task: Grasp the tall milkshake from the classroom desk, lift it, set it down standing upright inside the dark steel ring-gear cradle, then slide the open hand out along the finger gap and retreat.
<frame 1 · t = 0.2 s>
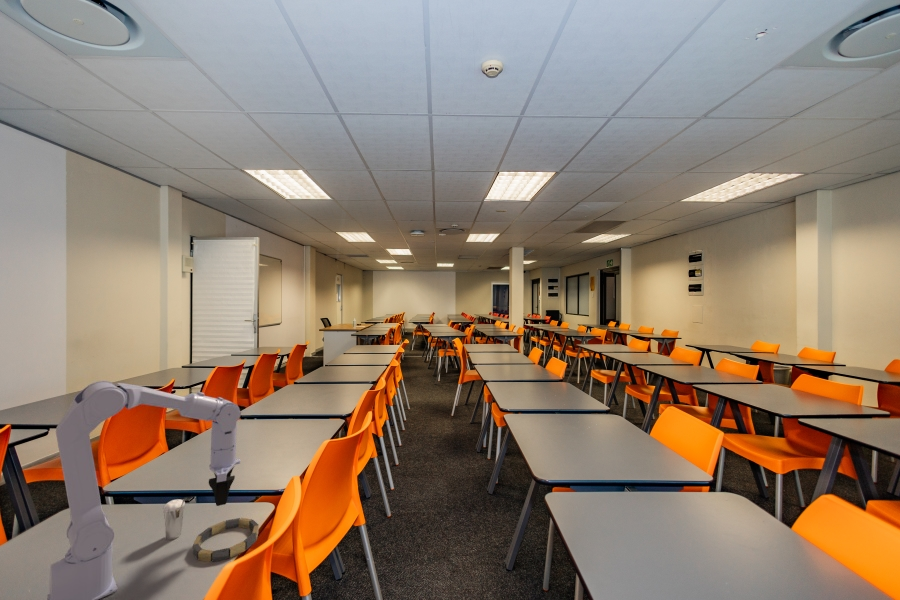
hand: (222, 497, 96), 10 cm above the table, fingers open, 7 cm apart
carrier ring: (227, 542, 93), on the table
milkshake: (174, 537, 95), on the table
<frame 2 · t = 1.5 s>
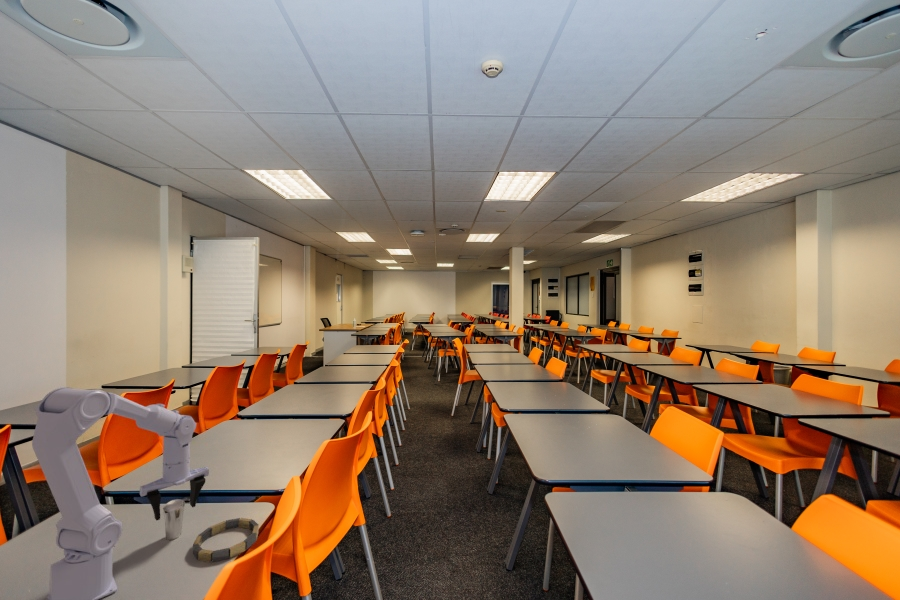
hand: (175, 511, 95), 6 cm above the table, fingers open, 7 cm apart
nothing on the table moved.
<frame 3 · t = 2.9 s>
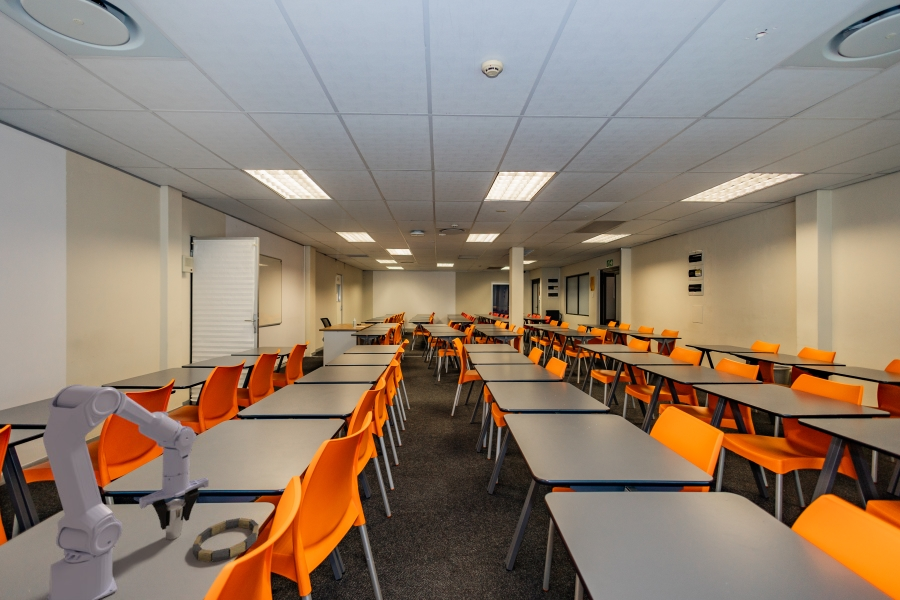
hand: (175, 523, 95), 3 cm above the table, fingers closed on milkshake, 4 cm apart
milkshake: (174, 537, 95), on the table, touching gripper
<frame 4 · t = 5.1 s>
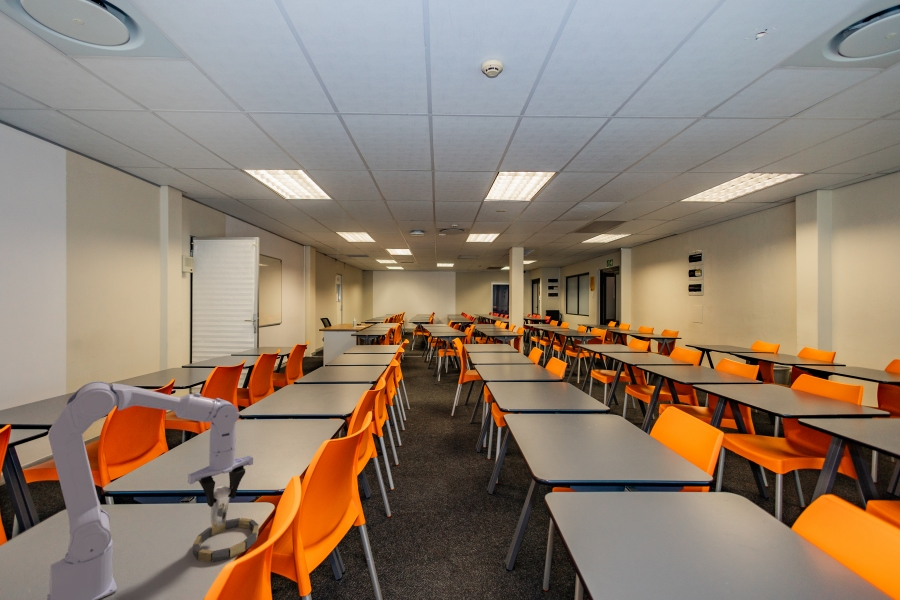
hand: (221, 500, 93), 10 cm above the table, fingers closed on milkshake, 4 cm apart
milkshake: (219, 523, 94), point 4 cm above the table, touching gripper
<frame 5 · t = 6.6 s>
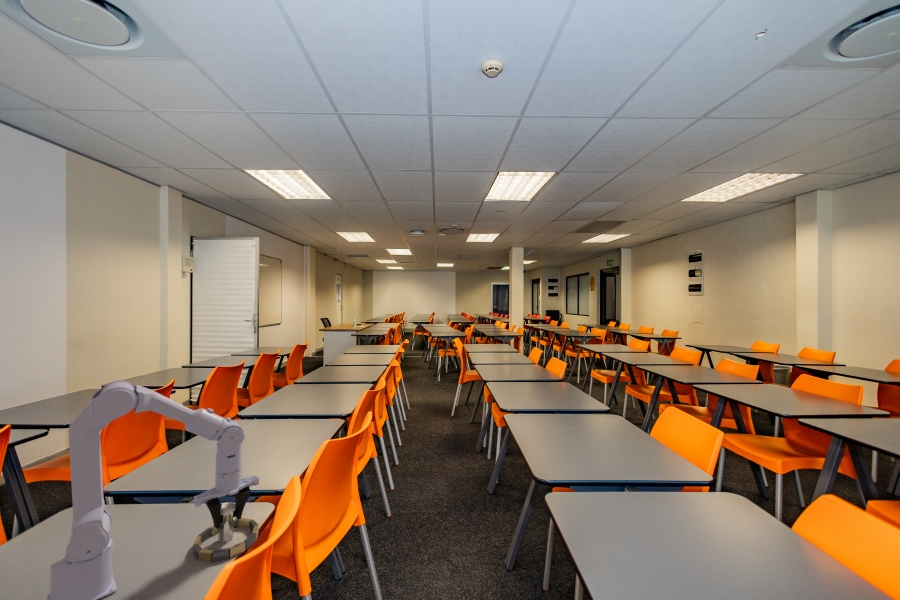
hand: (227, 522, 93), 5 cm above the table, fingers closed on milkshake, 4 cm apart
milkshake: (227, 539, 94), on the table, touching gripper
when the fingers open (5 cm above the table, at t = 7.5 s): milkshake stays where it is, on the table.
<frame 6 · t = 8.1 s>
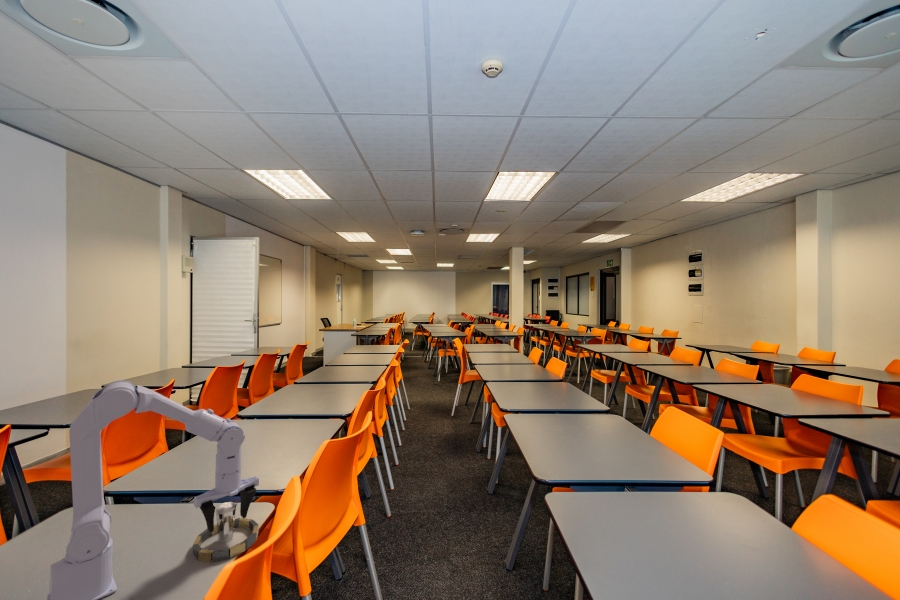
hand: (227, 523, 93), 5 cm above the table, fingers open, 7 cm apart
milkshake: (227, 540, 94), on the table
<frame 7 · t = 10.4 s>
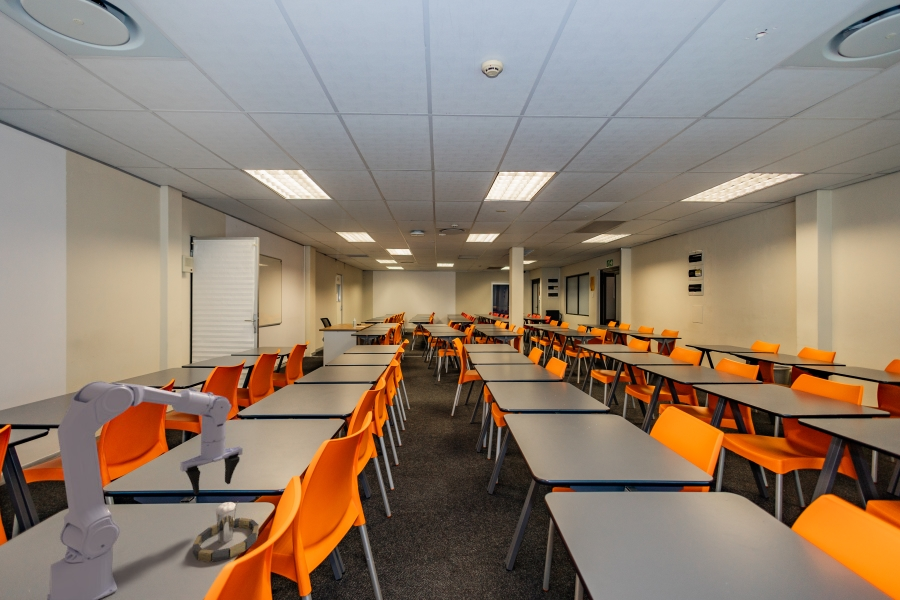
hand: (212, 487, 100), 10 cm above the table, fingers open, 7 cm apart
nothing on the table moved.
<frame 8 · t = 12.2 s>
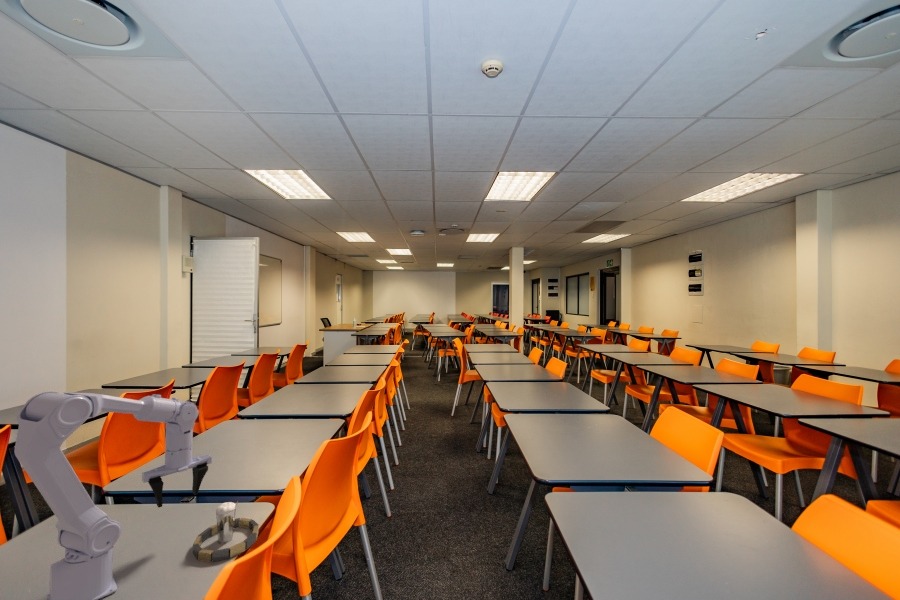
hand: (177, 499, 94), 10 cm above the table, fingers open, 7 cm apart
nothing on the table moved.
at the end: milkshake inside the target area on the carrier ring (1.4 cm from its centre), point 0.0 cm above the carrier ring's base; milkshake tilted 0°; the gripper is holding nothing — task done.
